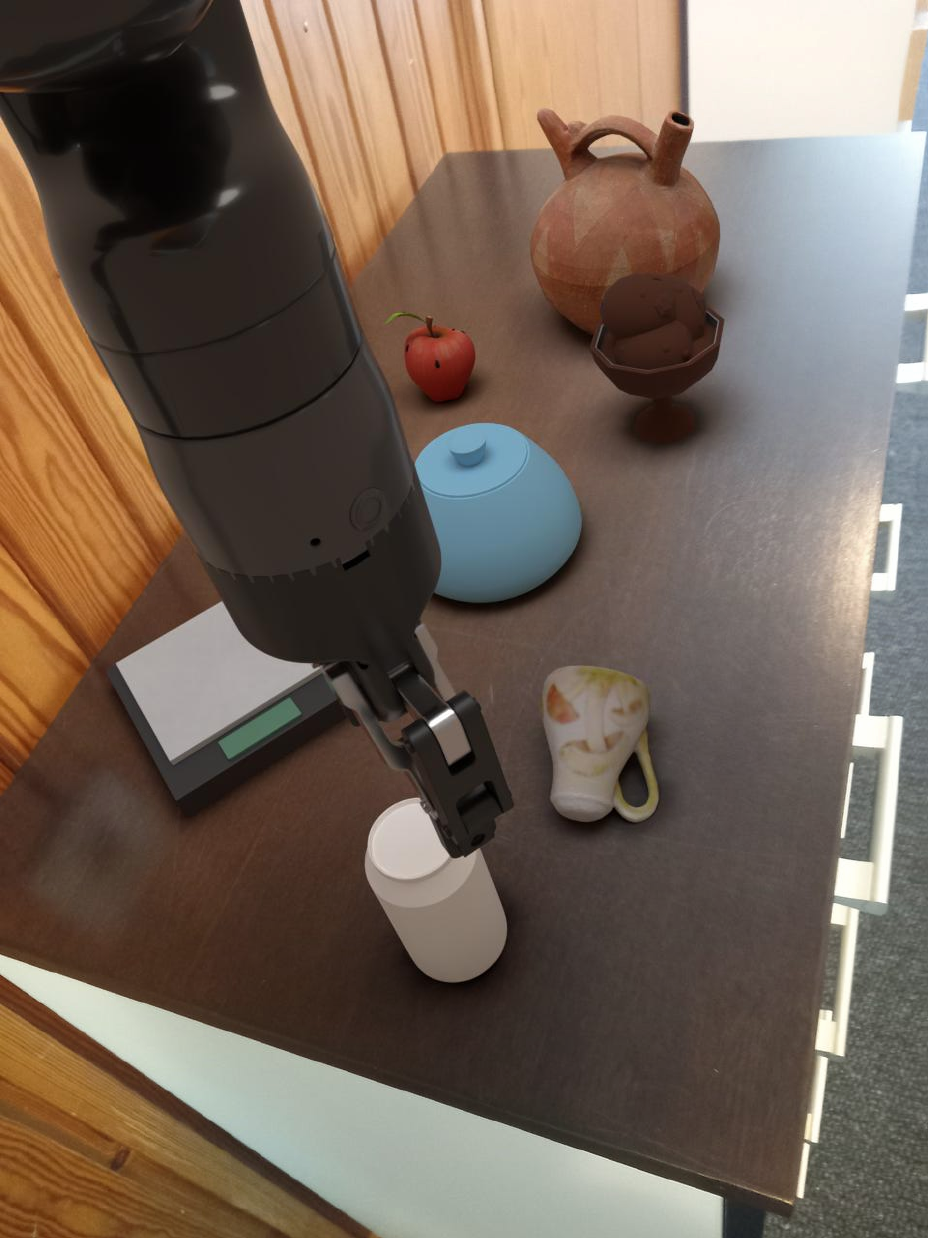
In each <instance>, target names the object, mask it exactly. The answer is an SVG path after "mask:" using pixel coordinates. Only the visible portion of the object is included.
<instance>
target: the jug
mask: <svg viewBox="0 0 928 1238" xmlns="http://www.w3.org/2000/svg"><path fill="white" fill-rule="evenodd" d="M536 120H537V122H538V124H539V126H540V128H541V130H542V132H543V134H544V135H545V137H546V139H547V141H548V143H549V144H550V146H551V149H552V150H553V152H554V154H555V156H556V158H557V161H558V162H559V165H560V167H561V170H562V174H563V177H564V179H563V180H562V182H561V183H560V184H559V185H558V187H557V188H556V189H555V190H554V191H553V192H552V194H551V195H550V196H549V197H548V199H546V201H545V203H544V204H543V205H542V207H541V209H540V211H539V214H538V216H537V217H536V221H535V223H534V226H533V229H532V232H531V237H530V242H529V251H530V252H529V254H530V260H531V265H532V268H533V273H534V274H535V278H536V280H537V283H538V284H539V287H540V289H541V291H542V294H543V295H544V297H545V300H546V301H547V302H548V303H549V304H550V305H551V306H552V307H553V308H554V309H555V310H557V312H559V313H560V314H561V315H562V316H563V317H565V318H566V319H567V320H569V321H570V322H571V323H572V324H573V325H575V326H576V327H578V328H579V329H580V330H582V331H584V332H585V333H586V334H588V335H590V336H592V337H593V336H594V333H595V329H596V326H597V324H599V323H600V322H602V317H601V314H600V312H599V310H600V307H601V304H602V302H603V298H604V295H605V292H606V291H607V290H608V289H609V288H610V287H611V286H612V285H613V284H614V283H615V282H616V281H617V280H618V279H620V278H623V277H625V276H628V275H631V274H634V273H653V274H656V275H657V274H664V275H673V276H677V277H679V278H680V279H682V280H684V281H685V282H687V283H688V284H689V285H691V286H692V287H693V288H695V289H697V290H698V291H699V292H700V293H701V294H702V295H703V292H704V291H705V289H706V288H707V285H708V284H709V282H710V280H711V278H712V277H713V275H714V273H715V270H716V265H717V262H718V257H719V251H720V245H721V223H720V220H719V217H718V213H717V211H716V208H715V207H714V203H713V201H712V199H711V198H710V196H709V195H708V193H707V191H706V190H705V188H704V187H703V185H702V184H701V183H700V181H699V180H698V178H696V177H695V175H694V174H692V172H690V171H689V170H688V169H686V168H685V167H683V166H682V164H683V160H684V157H685V155H686V152H687V150H688V147H689V144H690V142H691V139H692V135H693V132H694V129H695V121H694V120H693V119H692V118H691V116H690V115H687V114H686V113H684V112H682V111H679V110H677V109H673V110H669V111H668V112H667V114H666V116H665V118H664V121H663V123H662V125H661V128H660V131H659V134H656V133H655V132H654V131H653V130H652V129H650V128H649V127H647V126H645V125H644V124H643V123H641V122H639V121H637V120H635V119H632V118H630V117H627V116H623V115H614V114H613V115H611V114H610V115H607V116H603V117H601V118H598V119H597V120H595V121H593V122H592V123H590V124H587V123H585V122H583V121H582V120H572V121H570V122H568V123H567V124H566V123H565V122H564V121H563V120H562V119H561V118H560V116H559V115H558V114H557V113H556V112H555V111H554V110H552V109H550V108H546V107H544V108H541V109H539V110H538V111H537V114H536ZM611 135H615V136H621V137H623V138H625V139H627V140H629V141H630V142H632V143H633V144H635V145H636V146H637V147H638V148H639V149H640V151H628V152H620V153H616V154H615V153H614V154H611V155H606V156H602V157H598V156H596V155H595V154H593V152H591V151H590V150H589V148H590V146H591V145H592V144H593V143H595V142H596V141H598V140H600V139H602V138H604V137H607V136H611ZM641 151H642V152H641Z"/></svg>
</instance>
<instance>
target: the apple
mask: <svg viewBox="0 0 928 1238" xmlns="http://www.w3.org/2000/svg"><path fill="white" fill-rule="evenodd" d="M400 317H411V318H412V319H416V320H419V321H421V322H423V323H425V325H426V326H423V327H419V328H416V329H413V330H412V331H410V332H409V334H408V335H407V337H406V338H405V342H404V364H405V368H406V372H407V374H408V376H409V378H410V379H411V380H412V382H413V383H414V384H415V385H416V386H417V387H418V388H419V389H420V390H421V391H422V392H424V394H425V395H427V397H428V398H430V399H431V400H432V401H434V402H437V403H440V402H441V403H443V402H445V401H450V400H456V399H458V398H459V397H461V395H462V394H463V392H464V389H465V387H466V386H467V384H468V381H469V380H470V377H471V375H472V373H473V370H474V369H475V368H474V367H475V363H476V358H477V357H476V348H475V345H474V343H473V341H472V339H471V337H469V335H467V333H466V332H465V331H463V330H458V329H455V328H450V327H442V326H436V325H433V321H434V317H433V316H431V315H426V316H425V320H424V319H422V318H421V317H419V315H416V314H414V313H411V312H406V311H402V312H395V313H393V314H392V315H390V317H388V318H387V320H386V321H385V322H384V323H382V324H381V326H384V325H387V324H388V323H390V322H391V321H393V320H394V319H396V318H400Z"/></svg>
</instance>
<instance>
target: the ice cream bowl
mask: <svg viewBox="0 0 928 1238" xmlns="http://www.w3.org/2000/svg"><path fill="white" fill-rule="evenodd" d="M599 312H600V314H601V317H602V322H600V323H599V324H597V326H596V329H595V333H594V336H593V335H592V338H591V339H592V340H591V343H590V346H589V351H590V353H591V356H592V358H593V360H594V363H595V364H596V365H597V367H598V368H599V369H600V371H601V372H602V374H604V376H605V377H606V378H607V379H608V380H609V381H610V382H611V383H612V384H613V385H614V386H615V388H617V389H618V390H619V391H621V392H624V393H625V394H628V395H631V396H635V397H639V398H640V397H641V398H645V399H651V400H652V401H651V402H652V405H649V406H648V407H647V408H646V409H644V410H643V411H641V412H639V413H638V414H637V416H636V420H635V423H634V428H633V431H634V433H635V434H636V435H637V436H638V437H639V438H640V439H641V440H642V441H643V442H648V443H654V444H659V445H663V444H667V443H673V442H677V441H678V442H679V441H681V440H682V439H684V438H685V437H686V436H688V435H689V434H691V433H692V432H693V431H694V428H695V423H696V416H695V414H694V413H693V412H692V411H691V410H690V409H689V408H688V407H687V406H686V405H683V404H679V403H674V399H673V396H677V395H681V394H683V393H684V392H686V391H687V390H688V389H690V388H691V387H693V386H694V385H695V384H697V383H698V382H699V381H701V380H702V379H703V378H704V377H706V376H707V375H709V373H710V372H711V371H713V369H714V367H715V365H716V363H717V361H718V359H719V354H720V348H721V343H722V337H723V332H724V326H725V318H724V317H722V316H721V315H720V314H719V313H717V312H716V311H715V310H714V309H713V308H712V307H710V306H709V305H707V303H706V297H705V296H704V295H703V293H702V294H701V293H700V292H699V291H698V290H697V289H695V288H693V287H692V286H691V285H689V284H688V283H687V282H685V281H684V280H682V279H680V278H679V277H677V276H673V275H664V274H657V275H656V274H653V273H634V274H631V275H628V276H625V277H623V278H620V279H618V280H617V281H616V282H615V283H614V284H613V285H612V286H611V287H610V288H609V289H608V290H607V291H606V292H605V295H604V298H603V302H602V304H601V307H600V310H599Z"/></svg>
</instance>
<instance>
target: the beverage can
mask: <svg viewBox="0 0 928 1238" xmlns="http://www.w3.org/2000/svg"><path fill="white" fill-rule="evenodd" d="M419 802H421V799H420V798H419V797H412V798H407V799H404V800H401V801H398V802H396V803H394V804H393V805H391V806H389V807H388V808H386V809H385V810H383V812H381V814H380V815H379V816H378V817H377V818H376V820H375V821H374V823H373V824H372V826H371V828H370V831H369V834H368V837H367V848H366V852H365V855H364V870H365V876H366V880H367V882H368V884H369V885H370V888H371V889H372V891H373V893H374V894H375V896H376V898H377V900H378V901H379V903H380V905H381V907H382V909H383V911H384V913H385V914H386V916H387V919H388V920H389V921H390V923H391V925H392V926H393V928H394V930H395V933H396V934H397V935H398V937H399V939H400V941H401V943H402V944H403V946H404V948H405V950H406V951H407V954H408V955H409V957H410V958H411V960H412V961H413V963H414V964H415V966H416V967H417V968H418V969H419V970H420V971H421V972H423V974H425V975H426V976H428V977H430V978H432V979H433V980H436V981H440V982H445V983H462V982H466V981H470V980H472V979H475V978H477V977H478V976H480V975H482V974H483V973H485V972H486V971H488V970H489V969H490V968H491V967H492V966H494V964H495V963H496V962H497V960H498V959H499V957H500V955H501V954H502V952H503V950H504V947H505V945H506V940H507V936H508V923H507V918H506V914H505V911H504V907H503V904H502V903H501V899H500V897H499V895H498V891H497V889H496V887H495V883H494V881H493V879H492V876H491V873H490V870H489V868H488V866H487V863H486V860H485V858H484V855H483V852H482V850H481V847H480V848H479V849H477V850H476V851H474V852H473V853H471V854H470V855H468V856H467V857H464V856H462V857H460V858H456V859H454V858H451V857H450V855H449V854H448V853H447V851H446V850H445V849H444V847H443V846H442V844H441V842H440V840H439V838H438V835H437V833H436V831H435V828H434V826H433V824H432V821H431V819H430V817H429V815H428V814H426V813H425V812H424V810H423V809H422V807H421V805H420V803H419Z"/></svg>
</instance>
